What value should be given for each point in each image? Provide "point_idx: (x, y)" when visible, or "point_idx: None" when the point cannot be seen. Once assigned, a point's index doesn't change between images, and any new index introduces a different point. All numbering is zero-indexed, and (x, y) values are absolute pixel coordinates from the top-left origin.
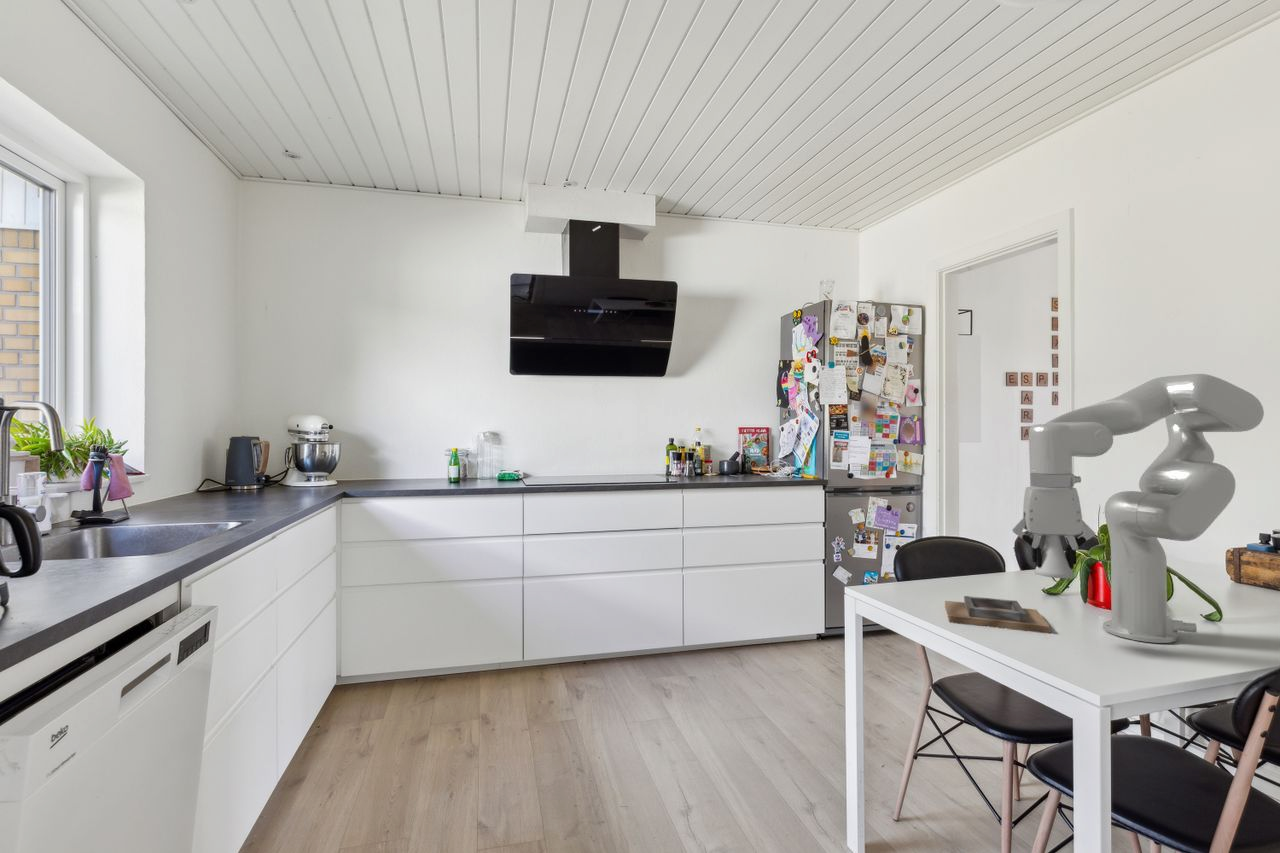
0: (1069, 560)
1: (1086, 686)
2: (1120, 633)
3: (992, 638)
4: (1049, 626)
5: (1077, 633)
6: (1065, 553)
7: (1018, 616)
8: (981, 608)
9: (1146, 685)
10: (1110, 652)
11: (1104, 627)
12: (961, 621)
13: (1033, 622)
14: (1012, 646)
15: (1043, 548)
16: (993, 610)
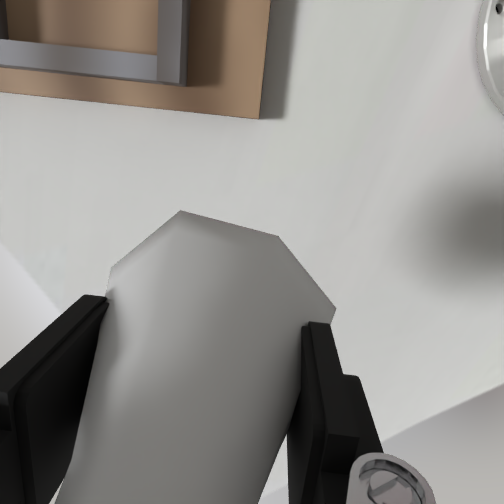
0: (289, 464)
1: None
2: (495, 95)
3: (70, 231)
4: (257, 116)
5: (356, 86)
6: (306, 393)
7: (155, 81)
8: (12, 48)
9: None
10: (369, 266)
11: (483, 11)
12: None
13: (214, 76)
14: None
15: (78, 433)
16: (57, 68)
